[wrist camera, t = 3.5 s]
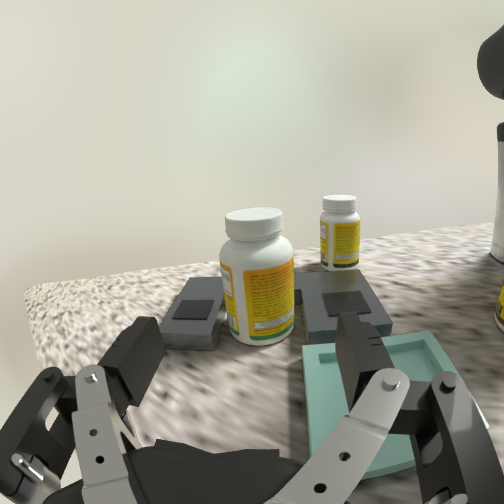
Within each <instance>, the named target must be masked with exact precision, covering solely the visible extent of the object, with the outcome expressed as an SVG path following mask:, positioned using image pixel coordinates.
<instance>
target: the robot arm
mask: <svg viewBox="0 0 504 504" xmlns="http://www.w3.org/2000/svg"><path fill="white" fill-rule="evenodd" d="M477 69H478V73H479V77H480V80H481V82H482V84H483V86H484V87H485V89H486V90H487V91H488V92H489V93H490V94H492V95H493V96H495V97H497V98H500V99H503V100H504V25H503V26H502V27H501V28H500V29H499V30H498V31H497V32H495V33H494V34H493V35H492V36H490V37H489V38H488V39H487V40H486V41H485V42H483V44H482V45H481V47H480V49H479V53H478V58H477ZM497 139H498V161H499V163H498V194H497V207H496V217H495V225H494V232H493V239H492V245H491V254H492V256H493V257H494V258H496V259H497V260H499V261H500V262H502V263H504V122H502V123H500V124H499V125H498V126H497ZM335 351H336V357H337V361H338V365H339V369H340V374H341V378H342V382H343V387H344V391H345V396H346V400H347V405H348V409H349V414H348V415H344V416H343V417H342V418H341V419H340V421H339V422H338V423H337V425H336V426H335V428H334V429H333V430H332V432H331V433H330V434H329V435H328V437H327V438H326V439H325V441H324V442H323V443H322V444H321V446H320V447H319V448H318V449H317V451H316V452H315V453H314V454H313V455H312V457H311V458H310V459H309V460H308V461H307V462H306V464H305V465H303V464H301V463H299V462H296V461H294V460H291V459H287V458H283V457H279V449H269V450H263V449H245V450H239V451H232V452H225V453H216V454H213V453H209V452H206V451H203V450H200V449H197V448H195V447H192V446H189V445H187V444H184V443H178V442H172V441H166V440H161V439H156V442H155V445H154V446H150V447H143V448H142V446H141V444H140V442H139V440H138V437H137V435H136V432H135V429H134V426H133V424H132V421H131V418H130V415H129V412H128V411H127V408H128V406H129V405H132V406H136V407H139V405H140V403H141V401H142V399H143V397H144V395H145V393H146V391H147V389H148V387H149V385H150V382H151V380H152V378H153V376H154V374H155V372H156V370H157V368H158V366H159V364H160V362H161V360H162V358H163V356H164V352H165V346H164V342H163V339H162V336H161V333H160V329H159V326H158V323H157V320H156V318H155V317H144V316H139V317H137V319H136V320H135V321H134V323H133V324H132V325H131V326H129V327H128V328H126V329H125V330H123V331H122V332H121V333H120V334H119V336H118V337H117V338H116V341H114V342H113V344H112V346H110V348H109V349H108V350H107V352H106V353H105V355H104V356H103V357H102V359H101V360H100V362H99V363H98V364H97V365H89V366H86V367H84V368H82V369H81V370H80V371H79V372H78V373H77V375H76V376H64V375H63V373H62V372H61V370H60V369H59V368H57V367H49V368H46V369H45V370H43V371H42V372H41V373H40V374H39V375H38V376H37V378H36V379H35V381H34V382H33V383H32V385H31V386H30V387H29V389H28V390H27V391H26V393H25V395H24V396H23V397H22V399H21V400H20V401H19V403H18V405H17V406H16V407H15V409H14V410H13V412H12V413H11V415H10V416H9V418H8V419H7V421H6V422H5V424H4V425H3V427H2V429H1V430H0V493H1V494H2V495H3V496H5V497H6V498H8V499H9V500H11V501H12V502H14V503H15V504H350V503H349V502H348V501H347V498H348V497H349V496H350V494H351V493H352V491H353V490H354V489H355V487H356V486H357V484H358V483H359V481H360V480H361V478H362V477H363V475H364V474H365V472H366V471H367V469H368V467H369V466H370V464H371V463H372V461H373V459H374V458H375V456H376V454H377V452H378V451H379V449H380V447H381V445H382V444H383V442H384V440H385V438H386V436H387V434H400V435H409V437H410V441H411V446H412V450H413V454H414V459H415V463H416V468H417V473H418V478H419V483H420V489H421V495H422V501H423V504H504V475H503V472H502V469H501V466H500V463H499V460H498V457H497V454H496V451H495V449H494V446H493V443H492V441H491V438H490V436H489V433H488V431H487V428H486V426H485V424H484V421H483V419H482V417H481V415H480V413H479V410H478V408H477V406H476V404H475V402H474V400H473V398H472V396H471V394H470V392H469V390H468V388H467V386H466V384H465V382H464V380H463V379H462V377H461V376H459V375H458V374H457V373H454V372H451V371H442V372H439V373H437V374H436V375H435V376H434V377H433V379H432V381H431V382H427V381H412V380H409V378H408V377H407V375H406V374H405V373H404V372H402V371H400V370H398V369H395V367H394V365H393V362H392V360H391V358H390V356H389V354H388V351H387V349H386V347H385V345H384V344H383V341H382V339H381V338H380V335H379V332H378V330H377V328H376V327H374V326H373V325H372V324H371V323H369V322H361V321H360V318H359V316H358V314H357V312H356V311H353V312H342V313H339V314H338V319H337V330H336V340H335ZM53 407H55V409H56V410H57V411H58V413H59V415H58V416H57V418H56V420H55V421H54V423H53V425H52V427H51V428H50V430H49V431H48V430H47V429H46V426H45V420H46V418H47V416H48V415H49V413H50V411H51V410H52V408H53ZM75 446H76V449H77V454H78V460H79V464H80V469H81V474H82V479H81V480H78V481H77V482H75V483H73V484H70V485H69V486H66V487H64V488H61V485H60V480H61V478H62V475H63V473H64V470H65V468H66V466H67V464H68V461H69V459H70V457H71V455H72V453H73V451H74V449H75Z"/></svg>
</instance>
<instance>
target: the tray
mask: <svg viewBox="0 0 504 504" xmlns="http://www.w3.org/2000/svg"><path fill="white" fill-rule="evenodd" d="M381 339H382V341H383V344H384V345H385V347H386V349H387V351H388V354H389V356H390V358H391V360H392V362H393V365H394V367H395V369H398V370H400V371H402V372H404V373H405V374H406V375H407V377H408V378H409V380H412V381H427V382H431V381H432V379H433V377H434V376H435V375H436V374H437V373H439V372H442V371H451V372H454V373H457V374H458V375H459V376H460V374H459V373H458V371H457V370H456V368H455V366H454V365H453V363H452V362H451V360H450V359H449V357H448V356H447V354H446V353H445V351H444V350H443V348H442V347H441V345H440V344H439V342H438V341H437V340H436V338H435V337H434V335H433V334H432V332H431V331H430V330H424V331H419V332H413V333H407V334H401V335H395V336H388V337H381ZM302 364H303V375H304V386H305V397H306V410H307V423H308V438H309V454H310V458H311V457H312V455H313V454H314V453H315V452H316V451H317V449H318V448H319V447H320V446H321V444H322V443H323V442H324V441H325V439H326V438H327V437H328V435H329V434H330V433H331V432H332V430H333V429H334V428H335V426H336V425H337V423H338V422H339V421H340V419H341V418H342V417H343V416H344V415H348V414H349V409H348V405H347V400H346V396H345V391H344V387H343V382H342V378H341V374H340V369H339V365H338V361H337V357H336V351H335V343H328V344H316V345H302ZM467 388H468V387H467ZM468 390H469V389H468ZM469 392H470V391H469ZM470 394H471V392H470ZM471 396H472V394H471ZM472 398H473V396H472ZM473 400H474V402H475V404H476V406H477V408H478V410H479V413H480V415H481V417H482V419H483V421H484V424H485V426H486V428H487V430H488V429H489V428H490V427H489V425H488V423H487V421H486V419H485V418H484V416H483V414H482V412H481V410H480V408H479V407H478V405H477V403H476V401H475V399H474V398H473ZM414 466H416V463H415V459H414V454H413V450H412V446H411V441H410V437H409V435H400V434H387V436H386V438H385V440H384V442H383V444H382V445H381V447H380V449H379V451H378V452H377V454H376V456H375V458H374V459H373V461H372V463H371V464H370V466H369V467H368V469H367V471H366V472H365V474H364V475H363V477H362V478H361V480H364V479H369V478H374V477H378V476H382V475H386V474H390V473H394V472H398V471H401V470H405V469H408V468H411V467H414Z"/></svg>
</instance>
